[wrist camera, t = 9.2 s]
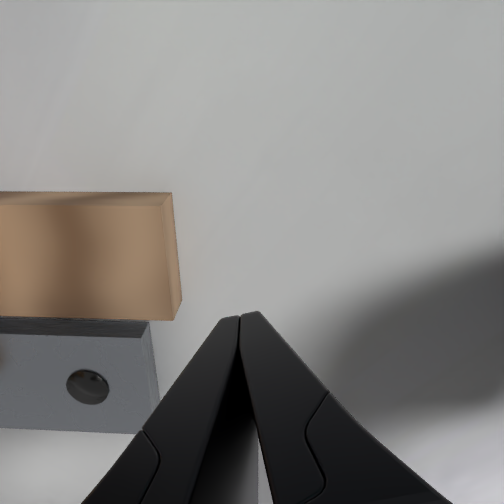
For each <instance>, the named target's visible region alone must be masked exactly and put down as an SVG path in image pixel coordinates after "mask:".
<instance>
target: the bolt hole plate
mask: <svg viewBox="0 0 504 504" xmlns="http://www.w3.org/2000/svg"><path fill="white" fill-rule="evenodd" d="M159 403H160V398H159V391H158V384H157V376H156V369H155V362H154V355H153V347H152V340H151V333H150V326H149V322H128V321H93V320H58V319H23V318H0V428H16V429H37V430H58V431H79V432H100V433H121V434H137V433H138V432H139V431H140V430H142V426H143V425H144V424H145V422H146V421H147V419H148V418H149V417H150V415H151V414H152V413H153V411H154V410H155V408H156V407H157V406H158V404H159Z"/></svg>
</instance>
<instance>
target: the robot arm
mask: <svg viewBox="0 0 504 504" xmlns="http://www.w3.org/2000/svg"><path fill="white" fill-rule="evenodd" d="M258 438H259V442H260V446H261V451H262V455H263V460H264V464H265V469H266V473H267V478H268V482H269V486H270V491H271V495H272V500H273V504H453V503H451V502H450V501H449V500H447V499H446V498H445V497H444V496H442V495H441V494H440V493H439V492H437V491H436V490H435V489H434V488H433V487H432V486H430V485H429V484H428V483H427V482H426V481H425V480H423V479H422V478H421V477H420V476H419V475H418V474H416V473H415V472H414V471H413V470H412V469H411V468H409V467H408V466H407V465H406V464H405V463H403V462H402V461H401V460H400V459H399V458H398V457H396V456H395V455H394V454H393V453H392V452H391V451H389V450H388V449H387V448H386V447H385V446H384V445H382V444H381V443H380V442H379V441H378V440H377V439H376V438H375V437H373V436H372V435H371V434H370V433H369V432H368V431H367V430H366V429H365V428H364V427H362V426H361V425H360V424H359V423H358V422H357V421H356V420H355V419H354V418H353V417H352V415H351V414H350V413H349V412H348V411H347V410H346V409H345V408H344V407H343V406H342V405H341V404H340V403H339V401H338V400H337V399H336V398H335V397H334V396H333V395H332V394H330V392H329V390H328V389H327V388H326V387H325V386H324V385H323V383H322V382H321V381H320V380H319V379H318V378H317V377H316V375H315V374H314V373H313V372H312V371H311V370H310V369H309V367H308V366H307V365H306V364H305V363H304V362H303V361H302V359H301V358H300V357H299V356H298V355H297V354H296V353H295V351H294V350H293V349H292V348H291V347H290V346H289V345H288V343H287V342H286V341H285V340H284V339H283V338H282V337H281V335H280V334H279V333H278V332H277V331H276V330H275V329H274V327H273V326H272V325H271V324H270V323H269V322H268V321H267V319H266V318H265V317H264V316H263V315H262V314H261V313H260V312H259V311H255V312H250V313H245V314H242V315H241V317H240V316H238V315H236V316H231V317H226V318H222V319H221V320H220V321H219V322H218V323H217V325H216V326H215V327H214V329H213V330H212V332H211V333H210V334H209V336H208V337H207V338H206V340H205V341H204V343H203V344H202V345H201V347H200V348H199V349H198V351H197V352H196V353H195V355H194V356H193V358H192V359H191V360H190V362H189V363H188V364H187V366H186V367H185V369H184V370H183V371H182V373H181V374H180V375H179V377H178V378H177V380H176V381H175V382H174V384H173V385H172V386H171V388H170V389H169V391H168V392H167V393H166V395H165V396H164V397H163V399H162V400H161V402H160V403H159V404H158V406H157V407H156V408H155V410H154V411H153V413H152V414H151V415H150V417H149V418H148V419H147V421H146V422H145V424H144V425H143V426H142V430H140V431H139V432H138V433H137V434H136V436H135V437H134V438H133V440H132V441H131V443H130V444H129V445H128V447H127V448H126V449H125V450H124V452H123V453H122V454H121V456H120V457H119V458H118V460H117V461H116V462H115V464H114V465H113V466H112V467H111V469H110V470H109V471H108V472H107V474H106V475H105V476H104V477H103V478H102V479H101V481H100V482H99V483H98V484H97V485H96V487H95V488H94V489H93V490H92V491H91V493H90V494H89V495H88V496H87V497H86V498H85V500H84V501H83V502H82V503H81V504H258Z"/></svg>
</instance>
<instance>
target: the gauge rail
mask: <svg viewBox="0 0 504 504" xmlns="http://www.w3.org/2000/svg"><path fill="white" fill-rule="evenodd" d="M181 301H182V294H181V283H180V273H179V263H178V253H177V242H176V232H175V222H174V211H173V201H172V193H154V192H0V316H23V317H58V318H94V319H129V320H165V321H173V320H174V318H175V316H176V313H177V311H178V308H179V306H180V304H181Z"/></svg>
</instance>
